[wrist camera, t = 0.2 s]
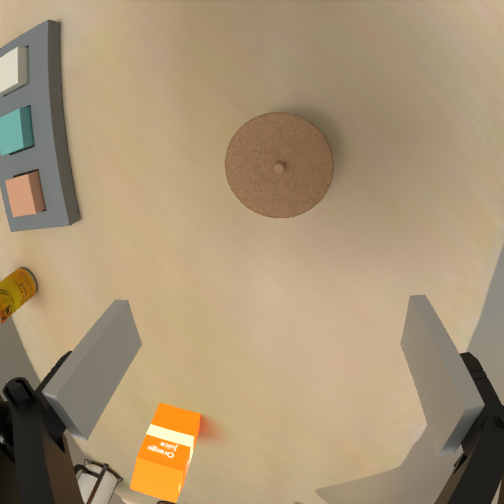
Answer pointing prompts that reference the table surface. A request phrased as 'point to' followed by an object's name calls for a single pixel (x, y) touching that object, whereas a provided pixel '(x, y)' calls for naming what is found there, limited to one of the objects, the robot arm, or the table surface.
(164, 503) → the place setting
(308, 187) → the lidded jar
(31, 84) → the panel
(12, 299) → the beer can
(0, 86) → the cream button
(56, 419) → the robot arm
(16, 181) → the terracotta button
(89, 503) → the coffee press
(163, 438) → the orange juice
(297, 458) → the table surface
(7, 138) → the teal button
